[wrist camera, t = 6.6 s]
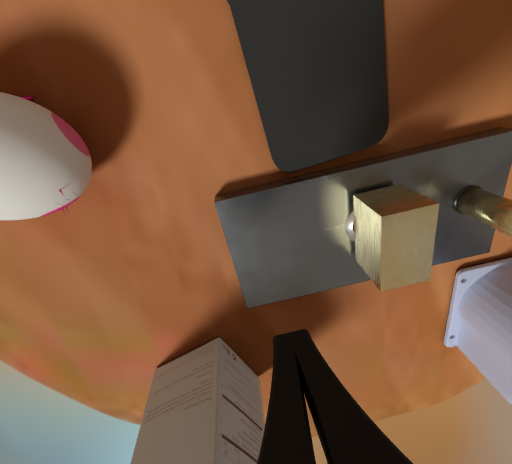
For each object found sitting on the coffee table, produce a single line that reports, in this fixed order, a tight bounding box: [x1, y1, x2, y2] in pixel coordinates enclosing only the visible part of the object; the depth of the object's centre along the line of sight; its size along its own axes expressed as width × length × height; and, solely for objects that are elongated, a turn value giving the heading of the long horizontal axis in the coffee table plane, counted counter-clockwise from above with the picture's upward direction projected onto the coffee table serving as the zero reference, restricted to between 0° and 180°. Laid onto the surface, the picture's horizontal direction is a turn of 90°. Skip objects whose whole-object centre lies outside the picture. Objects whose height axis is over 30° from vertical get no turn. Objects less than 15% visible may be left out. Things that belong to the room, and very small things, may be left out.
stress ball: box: [0, 92, 92, 220], centre depth 14 cm, size 8×8×7 cm
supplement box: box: [131, 338, 265, 464], centre depth 20 cm, size 7×7×13 cm
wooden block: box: [353, 184, 439, 291], centre depth 16 cm, size 5×3×3 cm, turn 12°
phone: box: [227, 0, 389, 172], centre depth 13 cm, size 7×1×15 cm
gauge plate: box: [214, 127, 512, 308], centre depth 16 cm, size 9×19×6 cm, turn 102°
